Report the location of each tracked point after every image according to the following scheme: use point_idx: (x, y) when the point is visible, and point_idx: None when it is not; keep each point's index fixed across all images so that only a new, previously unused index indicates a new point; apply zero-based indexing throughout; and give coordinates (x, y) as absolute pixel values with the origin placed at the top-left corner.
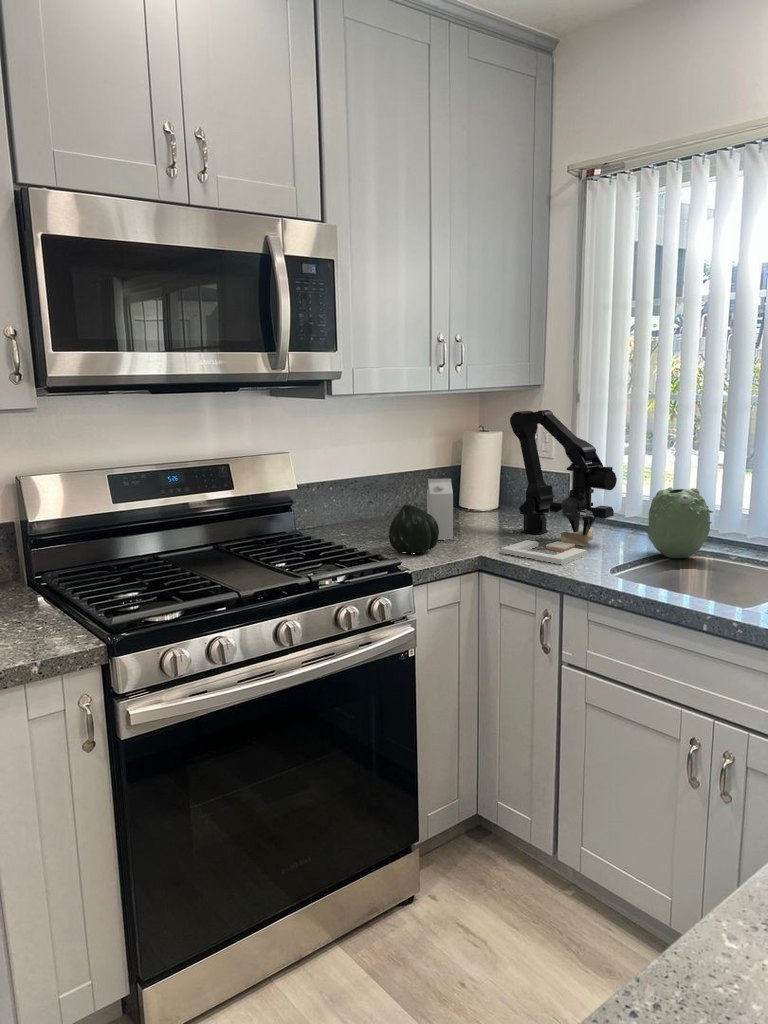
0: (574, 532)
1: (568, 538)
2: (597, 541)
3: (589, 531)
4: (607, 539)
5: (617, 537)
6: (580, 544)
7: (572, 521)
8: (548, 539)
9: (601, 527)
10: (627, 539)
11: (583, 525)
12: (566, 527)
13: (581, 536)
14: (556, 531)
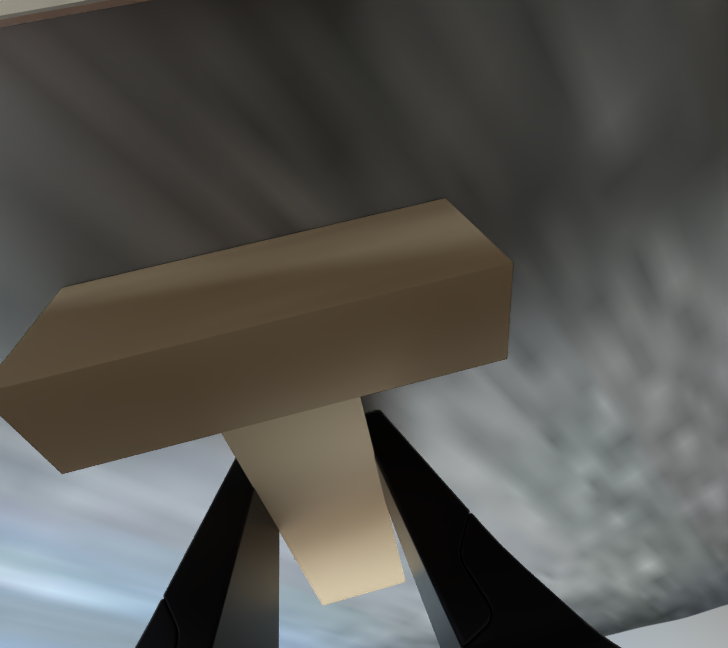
0: (367, 434)
1: (336, 259)
2: None
3: (302, 566)
4: None
5: None
6: (122, 280)
7: (476, 620)
8: (655, 202)
9: None
10: None
11: (208, 633)
12: (645, 531)
13: (61, 369)
14: (674, 449)
